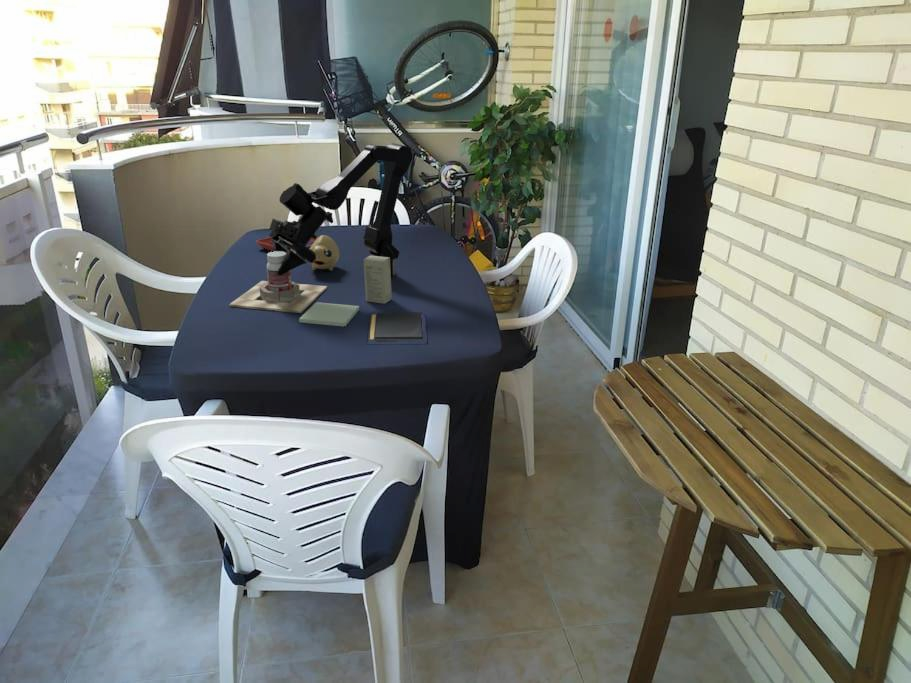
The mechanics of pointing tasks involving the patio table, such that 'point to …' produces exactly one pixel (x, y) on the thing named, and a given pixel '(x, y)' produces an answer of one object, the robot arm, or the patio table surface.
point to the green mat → (329, 314)
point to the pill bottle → (273, 265)
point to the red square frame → (268, 243)
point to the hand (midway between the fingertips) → (273, 271)
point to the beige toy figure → (325, 253)
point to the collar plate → (279, 297)
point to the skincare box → (377, 279)
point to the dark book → (395, 326)
